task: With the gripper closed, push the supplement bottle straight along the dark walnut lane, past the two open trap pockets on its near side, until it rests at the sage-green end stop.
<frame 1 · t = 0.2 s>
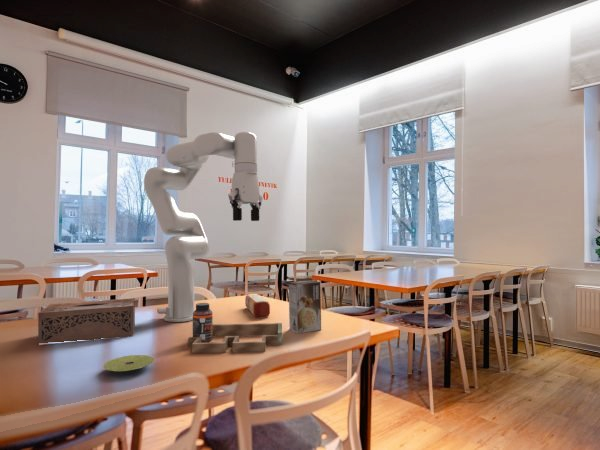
hand: (246, 220, 129), 37 cm above the table, tool pointing down, fingers open, 9 cm apart
supplement bottle: (202, 341, 116), on the table
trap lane: (235, 340, 116), on the table
snack package: (256, 313, 155), on the table
tissue box cover: (91, 336, 124), on the table
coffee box: (305, 330, 128), on the table
green disc: (129, 370, 93), on the table
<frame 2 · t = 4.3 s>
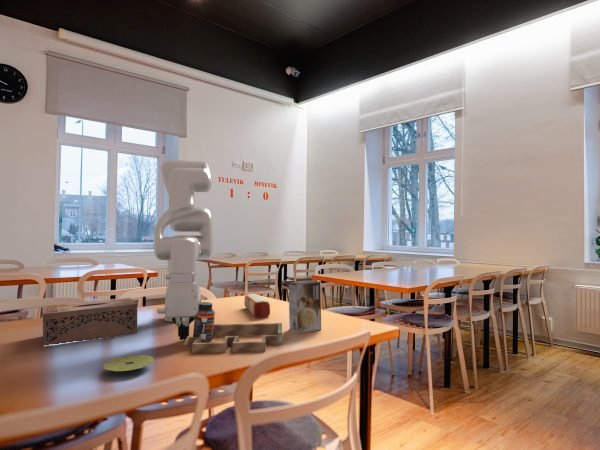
hand: (183, 338, 116), 1 cm above the table, tool pointing down, fingers closed
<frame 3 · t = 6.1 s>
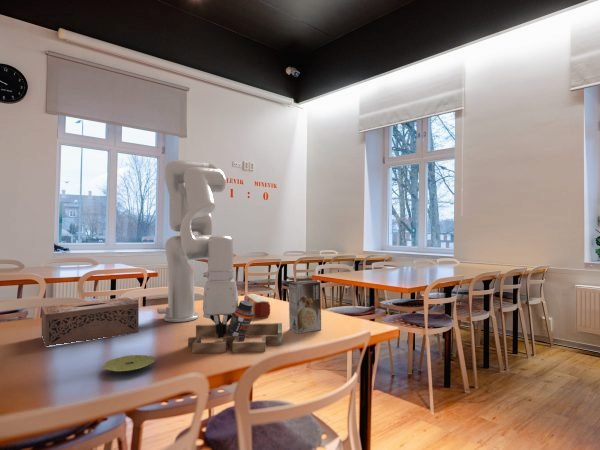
hand: (221, 336, 116), 1 cm above the table, tool pointing down, fingers closed
supplement bottle: (235, 338, 116), point 1 cm above the table, touching gripper
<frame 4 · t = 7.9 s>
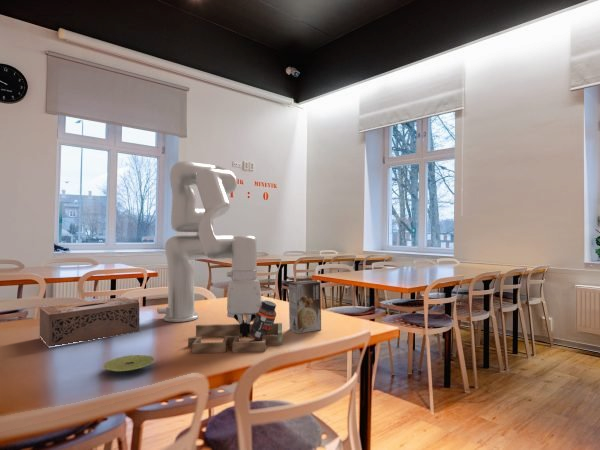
hand: (245, 335, 117), 1 cm above the table, tool pointing down, fingers closed
supplement bottle: (258, 338, 116), point 1 cm above the table, touching gripper
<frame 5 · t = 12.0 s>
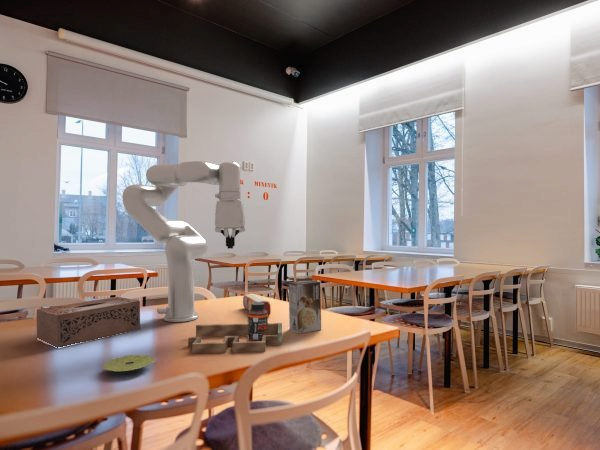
hand: (230, 248, 137), 27 cm above the table, tool pointing down, fingers closed
supplement bottle: (258, 341, 116), on the table
at the end: supplement bottle inside the target area (1.6 cm from its centre), on the table; supplement bottle tilted 0° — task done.
